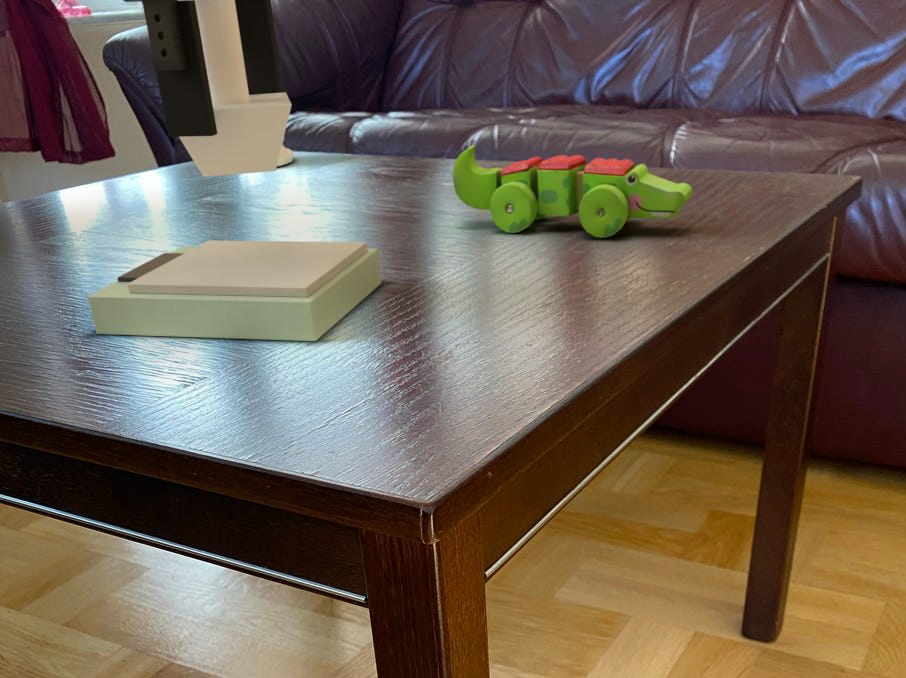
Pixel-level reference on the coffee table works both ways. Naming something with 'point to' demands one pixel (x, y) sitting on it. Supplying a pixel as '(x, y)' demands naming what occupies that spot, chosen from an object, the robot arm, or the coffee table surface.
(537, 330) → the coffee table surface
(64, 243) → the coffee table surface
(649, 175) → the toy crocodile
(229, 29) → the cream block with rod
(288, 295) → the scale
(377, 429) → the coffee table surface
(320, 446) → the coffee table surface
